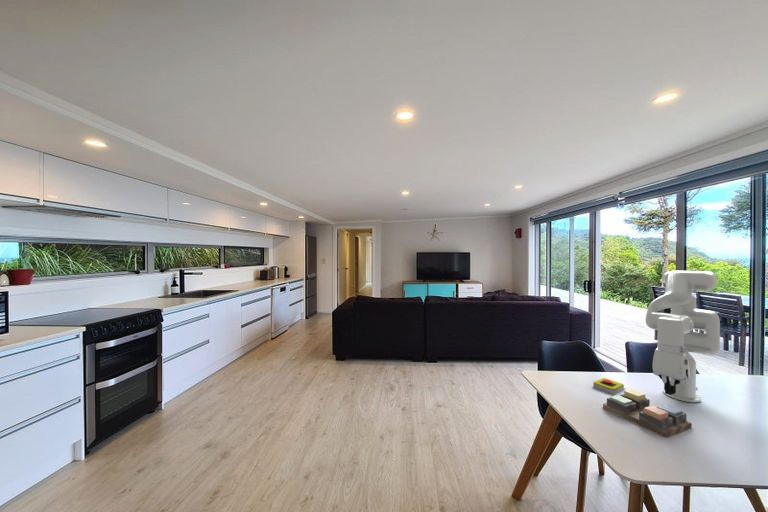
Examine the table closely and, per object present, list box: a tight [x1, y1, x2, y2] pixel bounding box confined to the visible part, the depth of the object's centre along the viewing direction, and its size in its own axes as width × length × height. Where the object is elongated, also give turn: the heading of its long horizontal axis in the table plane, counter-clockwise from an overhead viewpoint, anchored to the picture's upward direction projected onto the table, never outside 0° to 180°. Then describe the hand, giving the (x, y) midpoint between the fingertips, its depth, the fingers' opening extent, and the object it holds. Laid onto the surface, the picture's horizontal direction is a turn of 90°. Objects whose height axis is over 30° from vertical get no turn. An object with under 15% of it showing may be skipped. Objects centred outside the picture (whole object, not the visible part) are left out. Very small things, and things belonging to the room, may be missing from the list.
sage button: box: [611, 394, 632, 405], centre depth 125 cm, size 5×5×3 cm
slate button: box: [657, 404, 683, 416], centre depth 117 cm, size 5×5×3 cm
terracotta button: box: [644, 405, 668, 421], centre depth 114 cm, size 5×5×3 cm
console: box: [602, 393, 693, 438], centre depth 121 cm, size 17×22×5 cm
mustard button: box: [623, 388, 646, 401], centre depth 128 cm, size 5×5×3 cm
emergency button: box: [591, 377, 627, 396], centre depth 148 cm, size 9×4×15 cm
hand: (669, 393), depth 118 cm, fingers closed
